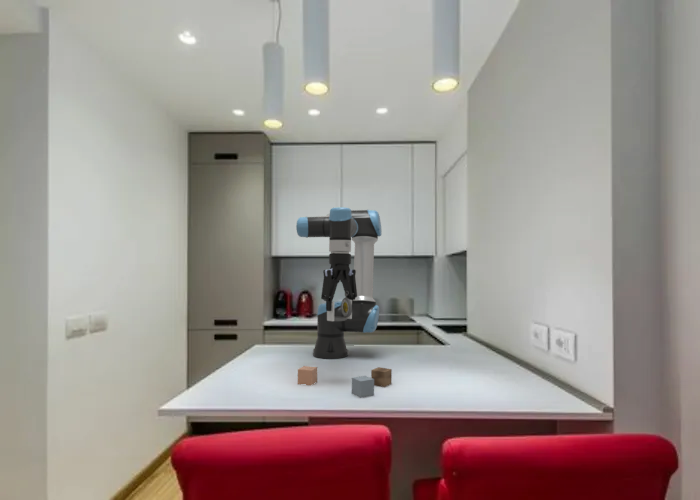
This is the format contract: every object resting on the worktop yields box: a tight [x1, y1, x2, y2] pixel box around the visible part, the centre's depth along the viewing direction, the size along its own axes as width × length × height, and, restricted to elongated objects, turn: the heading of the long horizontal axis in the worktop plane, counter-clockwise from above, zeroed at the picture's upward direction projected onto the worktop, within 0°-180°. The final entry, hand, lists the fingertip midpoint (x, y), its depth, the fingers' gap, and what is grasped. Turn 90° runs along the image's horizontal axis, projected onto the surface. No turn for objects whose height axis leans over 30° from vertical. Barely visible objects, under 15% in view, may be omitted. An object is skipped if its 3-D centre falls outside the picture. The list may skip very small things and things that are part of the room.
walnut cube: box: [370, 366, 393, 388], centre depth 150 cm, size 5×5×5 cm
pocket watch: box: [334, 291, 352, 321], centre depth 154 cm, size 8×8×10 cm
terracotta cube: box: [297, 365, 318, 386], centre depth 152 cm, size 5×5×5 cm
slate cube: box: [351, 375, 375, 399], centre depth 139 cm, size 5×5×5 cm
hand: (339, 319), depth 153 cm, fingers closed on pocket watch, 8 cm apart
